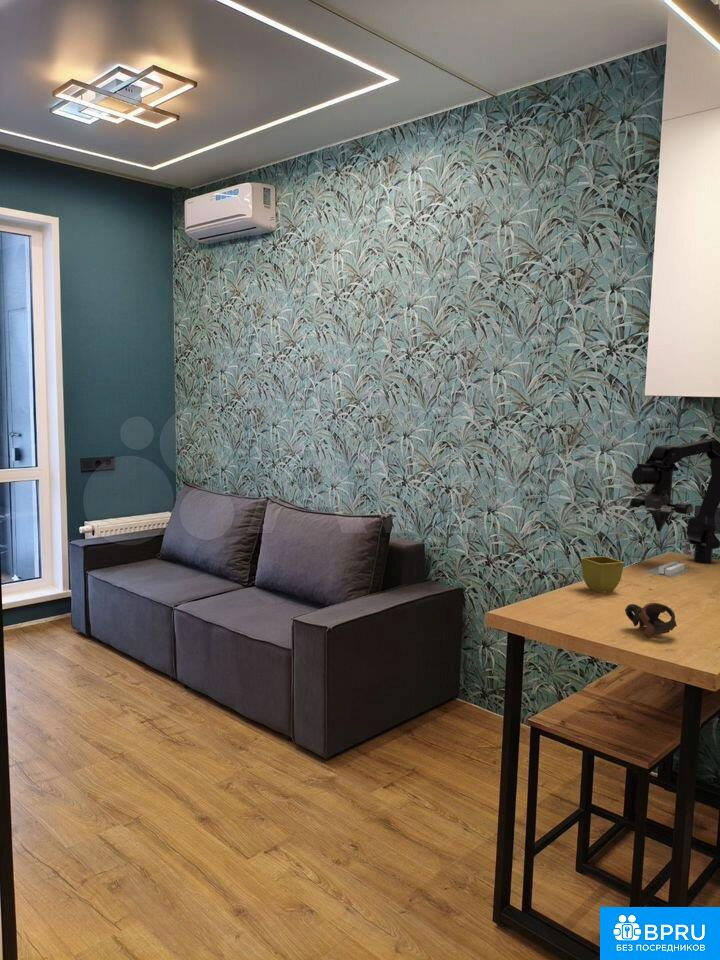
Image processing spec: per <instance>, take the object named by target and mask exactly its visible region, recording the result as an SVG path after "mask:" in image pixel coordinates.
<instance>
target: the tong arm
mask: <svg viewBox="0 0 720 960" xmlns="http://www.w3.org/2000/svg"><path fill="white" fill-rule="evenodd" d="M679 563H681V561H680V560H673V561H671V562H668V563H665V564H664V565H663V564H662V565H663V566H661V565H659V566H660V567H659V573H660V574H665V569H666V568H669V567H671V566H674V565H676V564H679Z"/></svg>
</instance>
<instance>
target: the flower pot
mask: <svg viewBox="0 0 720 960" xmlns="http://www.w3.org/2000/svg"><path fill="white" fill-rule="evenodd" d="M580 562H581V573H582V578H583V580H584V583H585V585H586V587H587V588H588V589H589V590H593V591H595V592H597V593H607V592H613V591H615V590H616V588H617V587H618V585H620V584H619V583H620V582H621V579H622V576H623V572H624V570H623V569H624V565H625V562H624V561H622V560H618V559H614V558H611V557H608V556H605V555H603V556H602V555H601V556H600V555H599V556H588V557H587V556H586V557H580Z"/></svg>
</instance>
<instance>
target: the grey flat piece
mask: <svg viewBox="0 0 720 960" xmlns="http://www.w3.org/2000/svg"><path fill="white" fill-rule="evenodd" d="M663 565H665V564H661V565H659V566H658V565H657V566H656V567H653V568H650V569H648V570H645V571H644V573H646V574H651V575H658V576H660V577H661V576H662V577H668V578H675V577H678V576H680V575H682V574H684V573H687V572H689V571H691V570H692V569H690V568H685V565H686V563H682V562H680V563H679V564H676V565H674V566H671V567H669V568H666V569H665V574H660V573H659V567H660V566H663Z"/></svg>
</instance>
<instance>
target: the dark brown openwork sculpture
mask: <svg viewBox="0 0 720 960" xmlns="http://www.w3.org/2000/svg"><path fill="white" fill-rule="evenodd" d="M624 611H625V615H626V616H627V618H628V619H629V620H630V621H631V622H632V624H633V626H634V627H637V626H638V625H639V628H643V627H645V629H644V631H643V635H644V636H645V637H647V638H649V639H650V638H651V637H653V635H654V636H658V635H665V634H668V633H670V631H673V630H674V629H675V627H677V622H676V615H675V612H674V611H673V609H672V608H670V607H669V606H667V605H665V604H664V603H660V602H649V603H647V604H645V605H644V606H643V607H642V606H639V605H637V604H634V603H631V604H627V606H626V607H625V609H624ZM665 612H666V613H667V614H668V615H669V616H670V620H669V621H667V622H666V621H664V620H662V619H660V618H659V617H660V615H661V614H664V613H665Z"/></svg>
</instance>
